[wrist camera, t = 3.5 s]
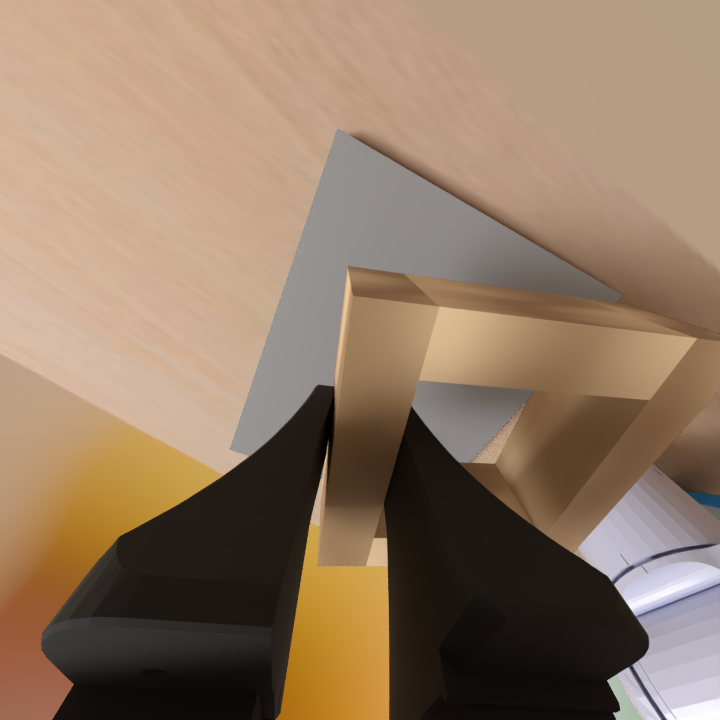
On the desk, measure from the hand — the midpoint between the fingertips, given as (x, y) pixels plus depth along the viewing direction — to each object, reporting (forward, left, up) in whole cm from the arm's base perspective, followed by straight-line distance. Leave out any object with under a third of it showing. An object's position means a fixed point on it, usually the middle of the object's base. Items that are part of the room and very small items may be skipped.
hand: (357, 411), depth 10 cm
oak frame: (-4, -1, -1) cm, 4 cm away
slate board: (-4, +2, -9) cm, 10 cm away
